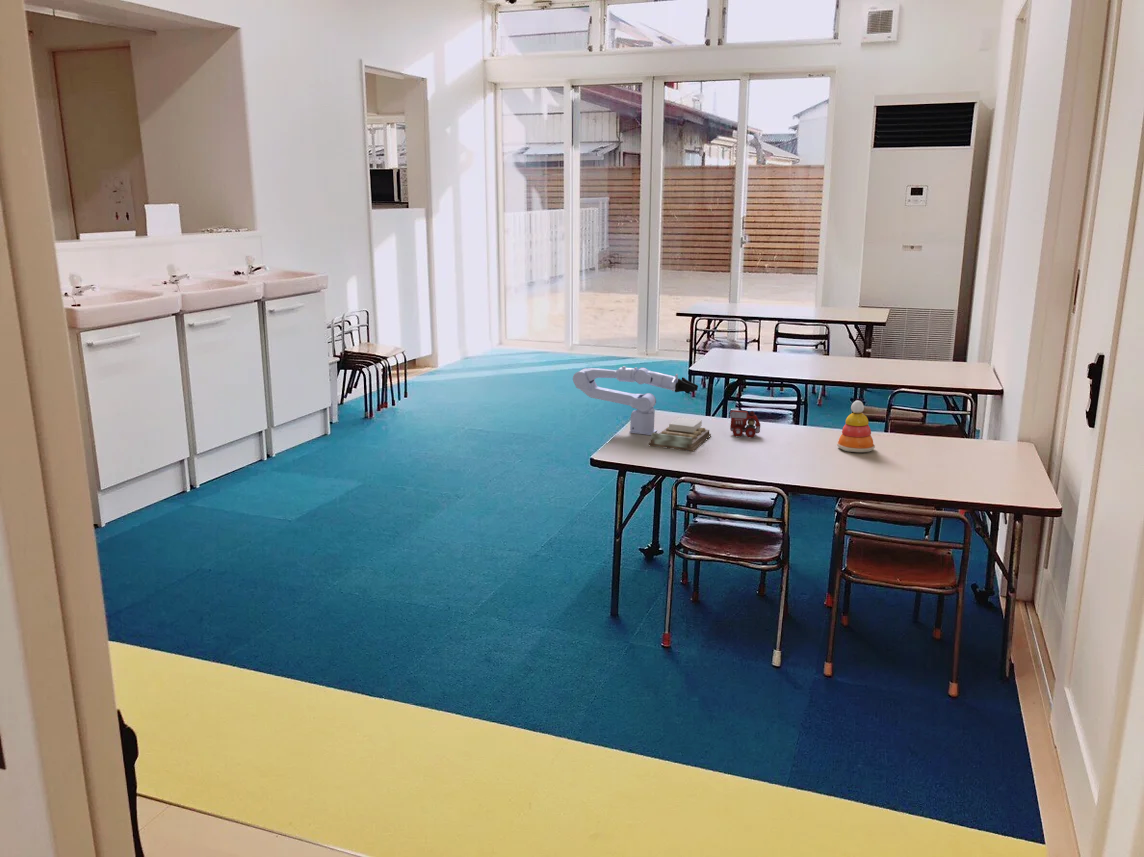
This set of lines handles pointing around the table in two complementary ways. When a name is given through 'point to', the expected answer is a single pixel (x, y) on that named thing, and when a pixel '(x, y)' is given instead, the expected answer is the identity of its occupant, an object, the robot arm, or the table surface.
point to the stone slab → (685, 425)
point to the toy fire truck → (744, 423)
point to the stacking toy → (856, 431)
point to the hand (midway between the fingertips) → (696, 388)
